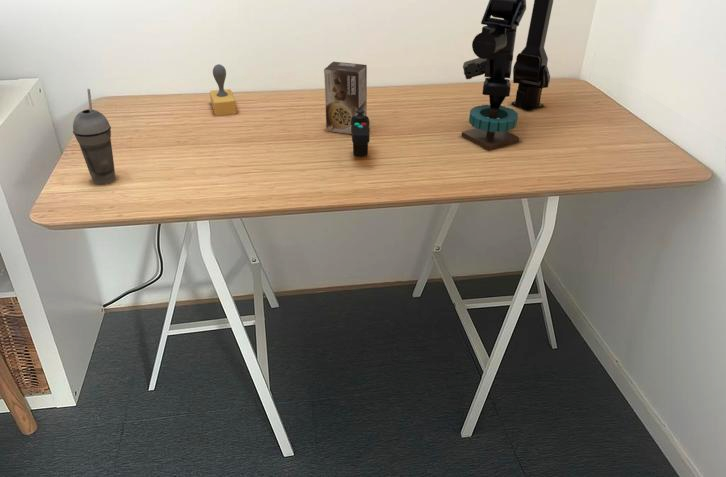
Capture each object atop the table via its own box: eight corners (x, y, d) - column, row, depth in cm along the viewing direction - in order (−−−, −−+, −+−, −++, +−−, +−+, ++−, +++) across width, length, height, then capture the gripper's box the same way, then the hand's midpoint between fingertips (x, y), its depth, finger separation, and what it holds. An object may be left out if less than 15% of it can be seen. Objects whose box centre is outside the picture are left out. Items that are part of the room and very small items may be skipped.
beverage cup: (91, 172, 135) (69, 83, 124) (125, 171, 136) (106, 82, 125) (81, 188, 129) (57, 95, 118) (117, 187, 130) (96, 95, 119)
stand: (491, 128, 159) (494, 99, 154) (519, 141, 151) (523, 111, 147) (461, 136, 154) (464, 106, 150) (488, 150, 147) (492, 119, 143)
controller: (368, 146, 148) (369, 106, 143) (370, 168, 138) (370, 126, 133) (350, 146, 148) (350, 106, 143) (351, 168, 138) (350, 126, 133)
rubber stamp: (211, 103, 172) (205, 60, 166) (232, 101, 174) (227, 58, 167) (215, 115, 164) (209, 71, 158) (237, 113, 166) (232, 69, 159)
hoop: (492, 110, 157) (493, 101, 156) (526, 124, 149) (527, 115, 148) (459, 120, 152) (460, 111, 150) (493, 136, 144) (494, 126, 143)
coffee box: (367, 126, 159) (368, 64, 150) (359, 136, 153) (359, 72, 145) (334, 122, 161) (333, 60, 152) (325, 131, 156) (323, 67, 147)
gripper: (469, 36, 154) (463, 96, 163) (463, 57, 139) (457, 122, 147) (515, 39, 152) (506, 100, 161) (514, 61, 137) (505, 127, 145)
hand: (493, 111), depth 154 cm, fingers closed on hoop, 2 cm apart
